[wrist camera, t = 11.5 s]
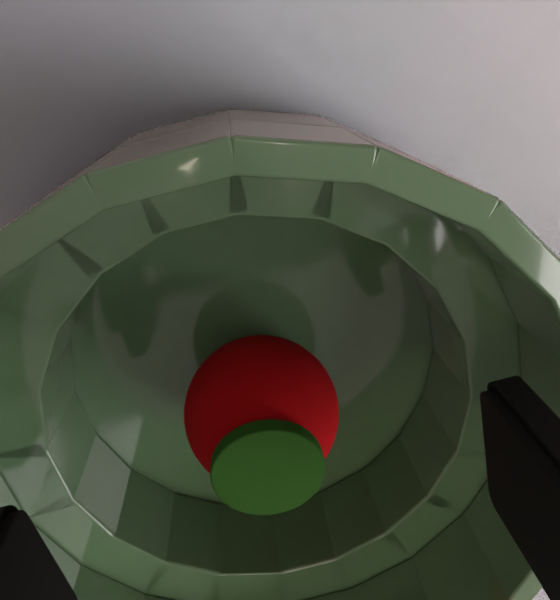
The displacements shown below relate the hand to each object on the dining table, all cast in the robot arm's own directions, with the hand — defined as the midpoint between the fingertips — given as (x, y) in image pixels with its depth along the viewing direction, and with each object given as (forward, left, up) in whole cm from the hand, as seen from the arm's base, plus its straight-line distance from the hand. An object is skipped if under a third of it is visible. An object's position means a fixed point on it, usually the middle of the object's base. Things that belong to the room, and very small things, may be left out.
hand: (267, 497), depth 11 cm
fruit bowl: (0, 0, -6) cm, 6 cm away
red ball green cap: (0, 0, -5) cm, 5 cm away
